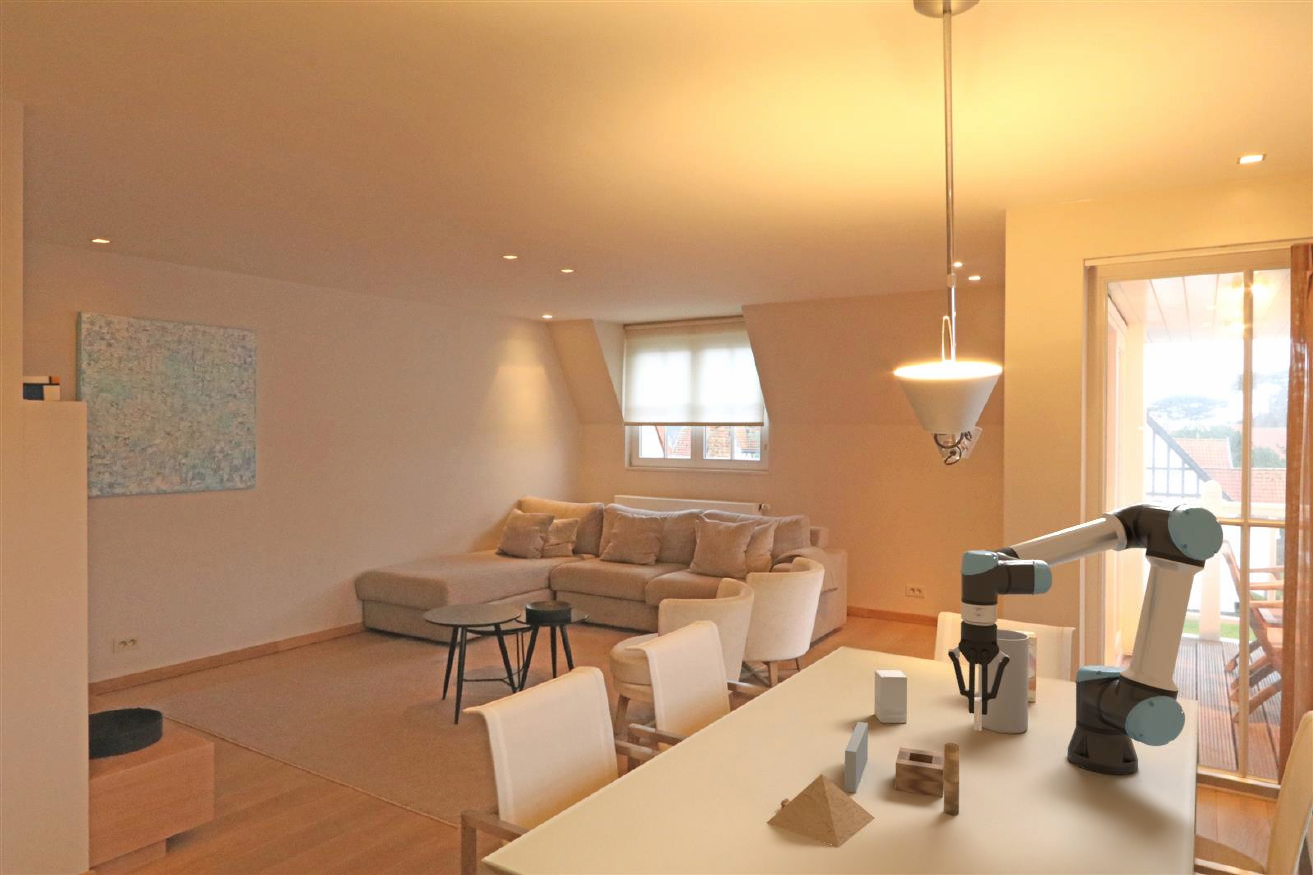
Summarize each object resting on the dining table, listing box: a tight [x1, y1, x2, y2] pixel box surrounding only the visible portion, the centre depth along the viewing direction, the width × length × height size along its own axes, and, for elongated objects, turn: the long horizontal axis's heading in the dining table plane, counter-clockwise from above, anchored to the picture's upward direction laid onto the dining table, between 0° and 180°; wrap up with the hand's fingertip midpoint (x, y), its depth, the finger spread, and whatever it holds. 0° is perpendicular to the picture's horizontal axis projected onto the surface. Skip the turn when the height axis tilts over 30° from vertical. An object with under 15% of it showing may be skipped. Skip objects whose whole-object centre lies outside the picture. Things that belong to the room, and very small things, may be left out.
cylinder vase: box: [977, 628, 1029, 735], centre depth 230 cm, size 12×12×25 cm
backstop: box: [844, 721, 869, 794], centre depth 197 cm, size 2×20×9 cm, turn 159°
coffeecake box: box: [1016, 630, 1038, 703], centre depth 256 cm, size 15×7×20 cm, turn 73°
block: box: [895, 746, 944, 798], centre depth 192 cm, size 10×10×6 cm
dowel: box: [943, 742, 960, 816], centre depth 178 cm, size 3×3×14 cm
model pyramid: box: [766, 773, 876, 848], centre depth 174 cm, size 17×17×10 cm
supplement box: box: [874, 669, 908, 724], centre depth 236 cm, size 7×7×13 cm
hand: (977, 728), depth 187 cm, fingers closed
